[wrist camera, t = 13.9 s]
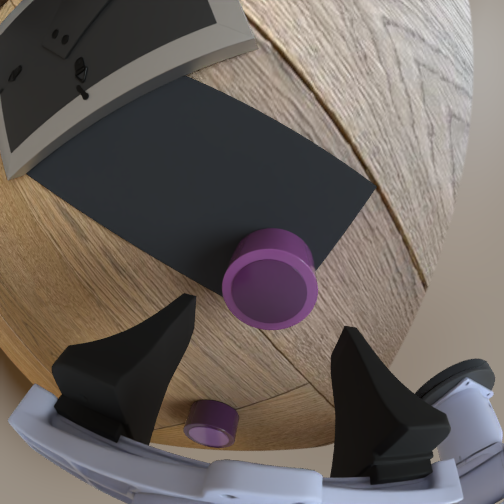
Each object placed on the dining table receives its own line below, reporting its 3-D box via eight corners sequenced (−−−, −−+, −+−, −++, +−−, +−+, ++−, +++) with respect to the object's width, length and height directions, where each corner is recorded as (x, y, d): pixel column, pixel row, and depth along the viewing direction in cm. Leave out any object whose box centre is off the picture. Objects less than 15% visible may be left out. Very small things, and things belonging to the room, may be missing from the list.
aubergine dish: (248, 412, 27) (243, 437, 24) (226, 430, 29) (221, 452, 26) (201, 393, 26) (193, 418, 23) (184, 412, 28) (176, 435, 25)
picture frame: (192, -88, 8) (2, 40, 12) (182, -106, 5) (-17, 38, 10) (258, 49, 13) (24, 175, 18) (253, 33, 11) (1, 182, 15)
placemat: (375, 185, 16) (376, 186, 16) (273, 320, 21) (273, 323, 21) (48, 33, 13) (45, 33, 13) (9, 158, 18) (6, 159, 18)
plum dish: (330, 255, 18) (337, 281, 15) (285, 313, 20) (283, 343, 17) (257, 211, 17) (251, 230, 14) (218, 277, 20) (206, 303, 17)
